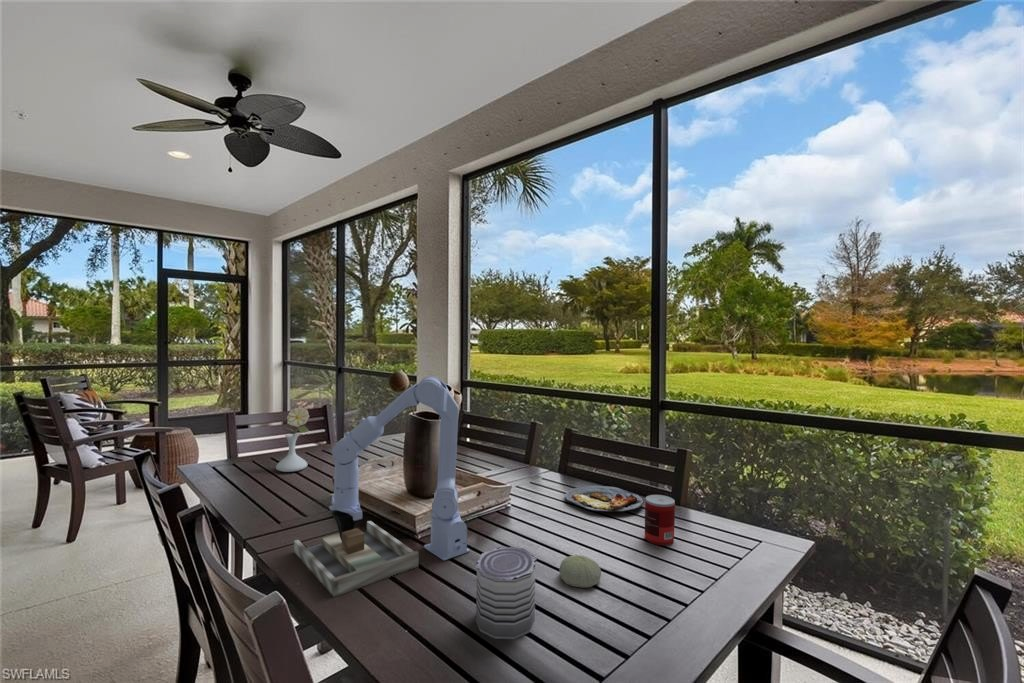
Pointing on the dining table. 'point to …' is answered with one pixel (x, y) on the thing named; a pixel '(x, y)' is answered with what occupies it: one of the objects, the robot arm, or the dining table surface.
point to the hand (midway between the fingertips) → (345, 539)
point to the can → (505, 592)
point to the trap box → (357, 560)
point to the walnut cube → (352, 541)
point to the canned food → (659, 519)
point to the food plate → (604, 498)
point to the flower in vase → (292, 459)
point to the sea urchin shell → (580, 571)
